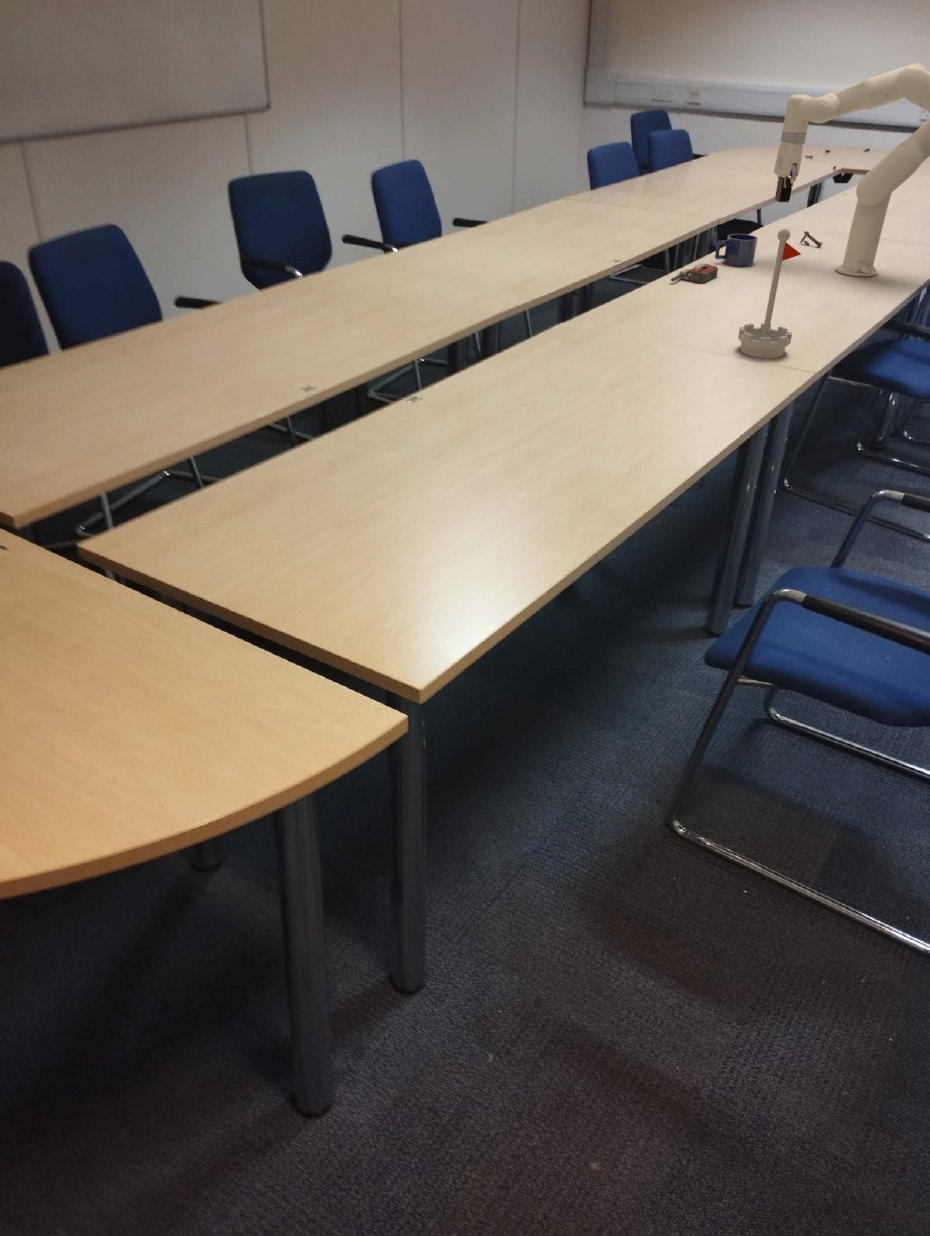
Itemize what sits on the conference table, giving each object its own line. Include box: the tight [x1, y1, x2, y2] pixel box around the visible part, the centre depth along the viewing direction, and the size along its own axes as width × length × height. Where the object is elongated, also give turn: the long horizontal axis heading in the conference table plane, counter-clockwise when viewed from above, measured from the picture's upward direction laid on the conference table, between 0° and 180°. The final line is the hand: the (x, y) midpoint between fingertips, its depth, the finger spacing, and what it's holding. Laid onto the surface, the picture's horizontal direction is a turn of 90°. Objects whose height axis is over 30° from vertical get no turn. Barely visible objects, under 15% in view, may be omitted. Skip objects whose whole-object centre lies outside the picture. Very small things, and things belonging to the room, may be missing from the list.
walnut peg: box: [774, 178, 790, 203], centre depth 321 cm, size 3×3×7 cm
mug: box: [714, 233, 759, 268], centre depth 328 cm, size 13×10×8 cm
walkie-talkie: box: [670, 262, 719, 284], centre depth 309 cm, size 9×4×20 cm
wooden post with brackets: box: [799, 230, 823, 249], centre depth 354 cm, size 2×8×4 cm, turn 45°
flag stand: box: [737, 228, 802, 359], centre depth 243 cm, size 13×13×30 cm
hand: (782, 198), depth 323 cm, fingers closed on walnut peg, 3 cm apart
